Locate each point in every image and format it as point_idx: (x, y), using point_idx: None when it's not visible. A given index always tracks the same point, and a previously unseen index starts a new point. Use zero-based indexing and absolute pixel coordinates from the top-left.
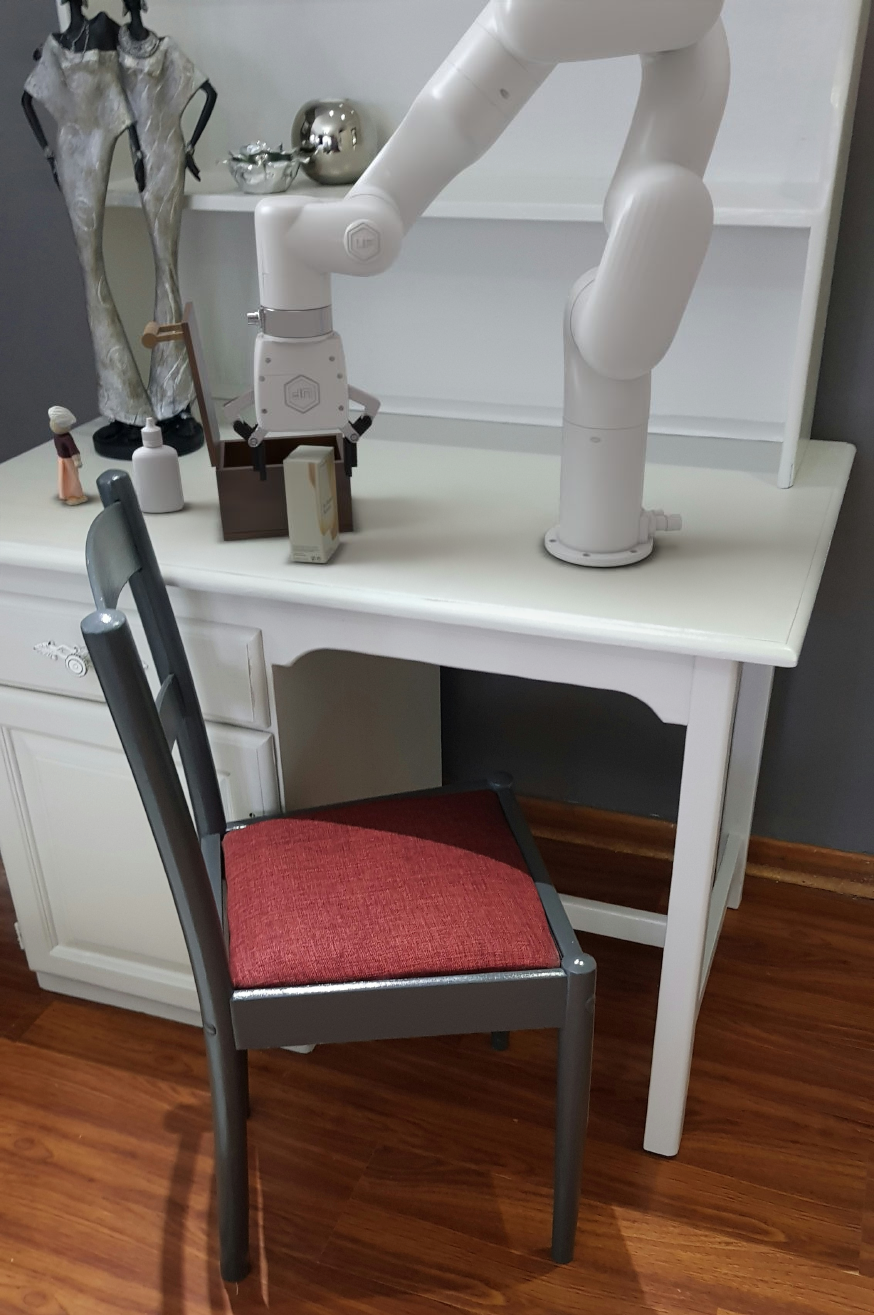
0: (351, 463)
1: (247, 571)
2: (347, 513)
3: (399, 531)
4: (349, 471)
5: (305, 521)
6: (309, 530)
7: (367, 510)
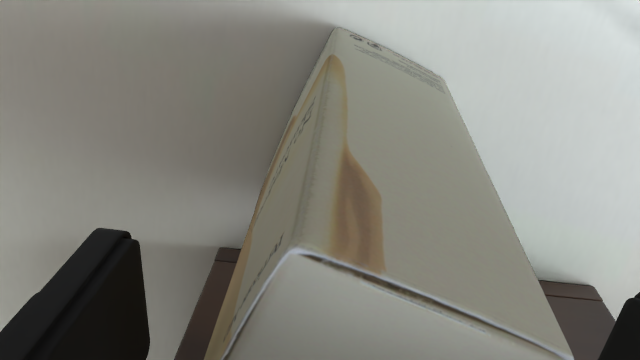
0: (53, 277)
1: (605, 48)
2: (220, 285)
3: (86, 212)
4: (98, 244)
5: (401, 101)
6: (385, 81)
7: (173, 355)
